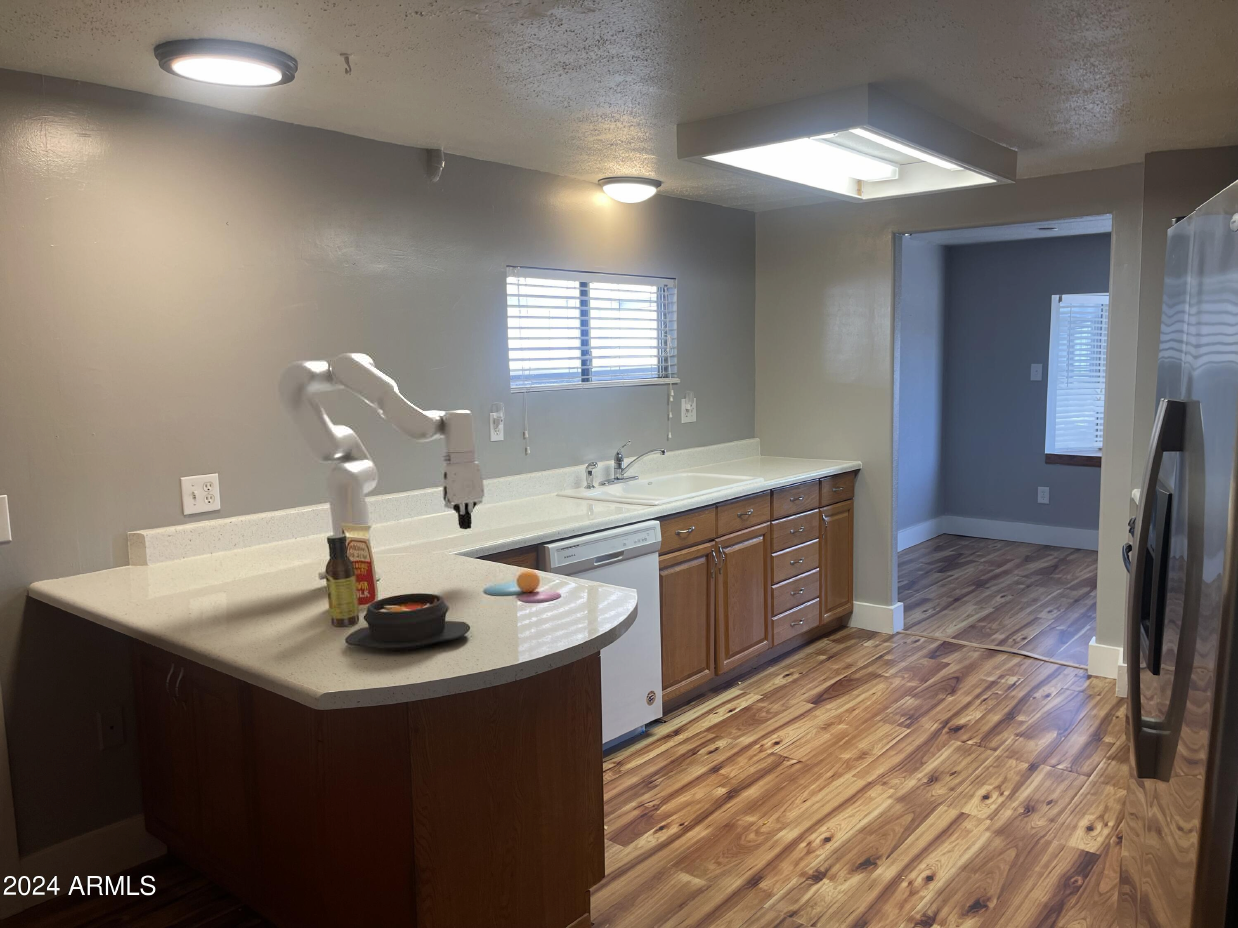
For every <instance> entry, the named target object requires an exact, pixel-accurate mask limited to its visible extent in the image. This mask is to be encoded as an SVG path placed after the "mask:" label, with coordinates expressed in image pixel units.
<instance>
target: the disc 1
mask: <svg viewBox="0 0 1238 928" xmlns="http://www.w3.org/2000/svg"><path fill="white" fill-rule="evenodd" d="M483 593H484V594H486V595H488V594H490V595H489V596H494V595H495V597H501V596H502V597H504V596H505V597H506V596H507V597H508V596H517V595H523V594H525V593H527V592H523V591H521V590H520V589H519V587H518V585H517V581H508V582H500V583H499V582H498V583H496V584H492V585H489V586H487V587H485V588H483ZM496 595H497V596H496Z"/></svg>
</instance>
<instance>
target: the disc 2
mask: <svg viewBox="0 0 1238 928" xmlns="http://www.w3.org/2000/svg"><path fill="white" fill-rule="evenodd" d="M561 597H562V593H560V592H559V591H553V590H537V591H536V590H535V591H533V592H529V593H523V594H520V596H518V600H519V601H521V602H522V603H531V604H532V603H535V604H536V603H547V602H553V601H555V600H558V599H559V598H561Z"/></svg>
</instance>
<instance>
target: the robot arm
mask: <svg viewBox="0 0 1238 928" xmlns="http://www.w3.org/2000/svg"><path fill="white" fill-rule="evenodd" d="M341 389H342V390H343V389H346V390H348V391H349V392H351V393H352V394H354V395H355V396H357V397H358V398H359V399H361V400H362V401H364V402H366V404H367V405H370V406H371V407H373V408H374V409H375V410H376V411H377V413H378V415H380V417H382V418H383V419H384V420H385V421H386V422H387V423H388V424H390V426H392V427H393V428H394V429H396V430H397V431H399V432H400V433H402V434H404V435H405V436H407V437H408V438H409V439H411V440H413V441H415V442H421V443H426V442H429V441H433V440H437V439H442V438H443V439H444V451H445V452H444V455H442V456H441V461H442V462H445V464H444V466H443V472H442V497H443V501H444V508H445V509H451V510H453V511H454V512H455V513H456V514H457V519H458V520H457V521H458V523H457V524H458V526H459V529H462V530H469V529H472V523H473V522H472V513H473V512H474V509H475V508H476V506H478V505H480V504H482V503H483V499H484V498H485V486H484V479H483V474H482V469H481V466H480V462H478V461H476V448H475V434H474V433H475V432H474V431H475V430H474V429H475V428H474V417H473V413H472V412H471V411H470V410H467V409H461V410H460V409H459V410H450V411H449V410H448V411H443V410H442V411H441V410H433V409H432V410H424V411H423V410H421V409H419V408H418V407H416V406H415V405H413V404H412V403H410V402H409V401H408V400H407V399H405V398H404V397H403V395H401V394H400V392H399V389H398V385H397V384H396V382H395V381H394V380H393V379H391V378H390V377H389V376H387V375H385V374H384V373H383V372H381V371H379V370H378V369H377V368H376V365H375V362H374V361H373V359H372V358H371V357H369V356H368V355H366V354H365V353H362V352H360V353H359V352H347V353H346V352H345V353H342V354H339V355H338V356H336V357H333V358H326V359H321V360H320V359H318V360H316V359H315V360H298V361H295V362H292V363H290V364H288V365H287V366H285V368H284V369H283V371H282V372H281V374H280V376H279V377H278V381H277V396H278V399H279V403H280V405H281V406H282V408H283V411H284V412H285V413H286V414H287V416H288V418H289V420H290V421H291V422H292V424H293V425H294V427H295V429H296V431H297V432H298V433H297V434H298V435H299V436H300V438H301V439H302V441H303V443H304V444H305V446H306V448H307V449H308V452H309V453H310V455H311V456H312V457H313V459H315V461H317V462H318V463H322V464H329V463H334V466H333V467H332V468H331V469H330V470H329V472H328V473H327V475H326V477H325V484H324V485H325V492H326V495H327V500H328V504H329V508H330V515H331V516H330V517H331V526H332V535H336V534H342V524H341V523H344V524H350V525H356V526H362V525H371V522H370V514H369V507H368V504H367V501H366V497H365V494H367V493H369V492H371V491H372V490H373V489H375V487H376V486H377V483H378V480H379V474H378V469H377V467H376V466H375V463H374V462H373V460H372V458H371V457H370V455H369V453H368V452H367V450H366V448H365V447H364V445H363V443H362V441H361V440H360V439H359V436H357V434H356V432H354V430H353V429H351V428H350V427H348V426H345V425H343V424H333V422H332V421H331V419H330V417H329V416H328V415H327V413H326V411H325V409H324V408H323V406H322V405H321V404H320V403H319V402H318V400H317V399H315V398H314V396H313V393H322V392H330V391H336V390H341ZM371 534H372V533H371V529H370V530H369V540H370V545H371V550H372V551H373V545H372V535H371ZM375 572H376V579H377V581H378V580H380V579H381V573H380V572H379V571H375ZM317 575H318V576H317V577H318V579H319V581H322V580H326V575H325V571H321V572H318V573H317Z"/></svg>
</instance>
